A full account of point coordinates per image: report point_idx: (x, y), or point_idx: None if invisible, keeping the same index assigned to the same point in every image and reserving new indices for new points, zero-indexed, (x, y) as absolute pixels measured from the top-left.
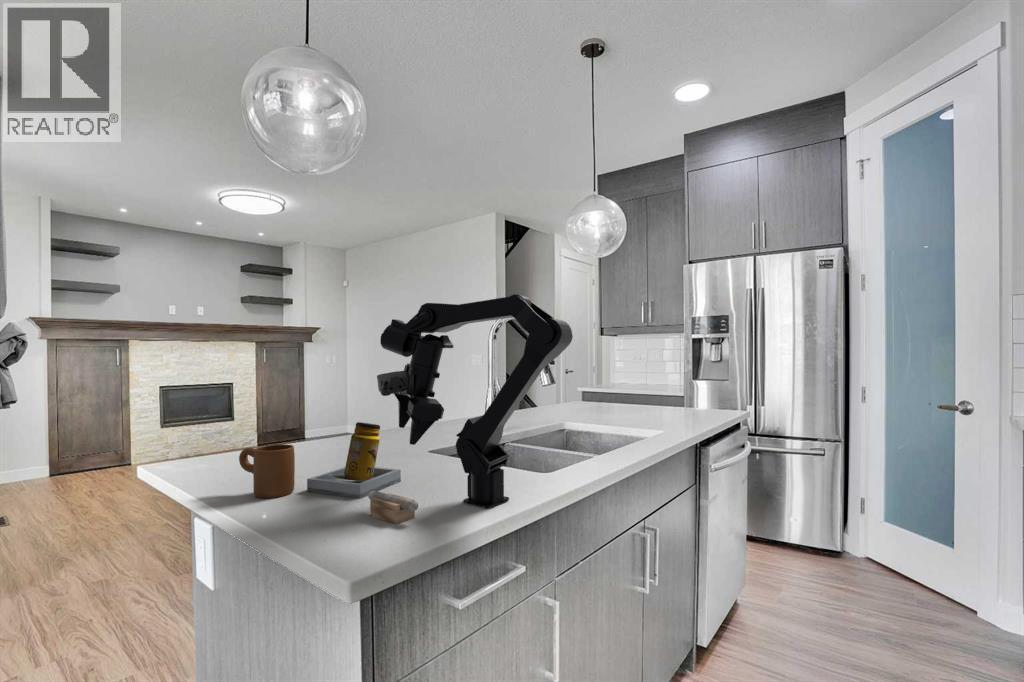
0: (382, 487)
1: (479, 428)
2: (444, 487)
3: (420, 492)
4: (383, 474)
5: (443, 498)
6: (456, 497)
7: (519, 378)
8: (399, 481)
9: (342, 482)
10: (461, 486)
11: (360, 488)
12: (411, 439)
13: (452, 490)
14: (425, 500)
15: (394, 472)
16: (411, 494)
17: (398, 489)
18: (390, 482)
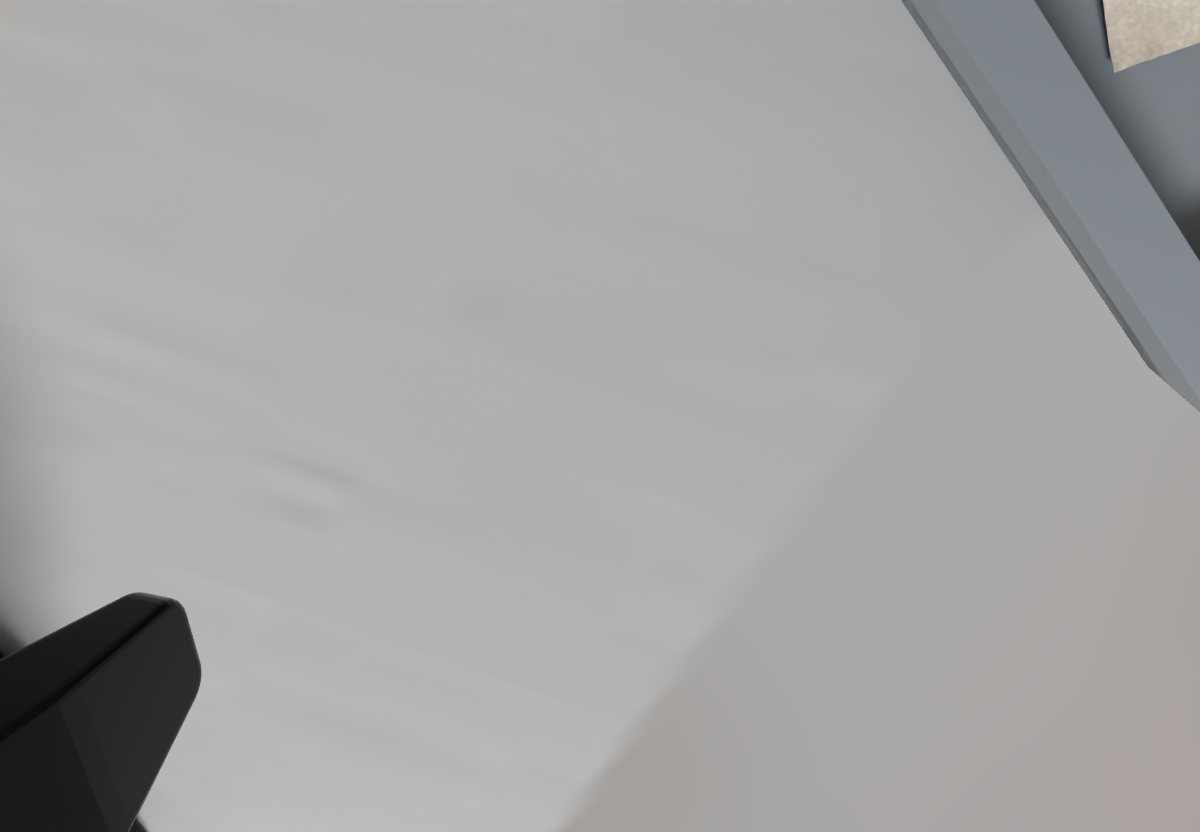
0: (945, 58)
1: None
2: (592, 677)
3: (535, 415)
4: (1103, 124)
5: (208, 537)
6: None
7: None
8: (1137, 348)
9: None
10: (540, 812)
11: None
12: (4, 667)
13: (444, 700)
14: (212, 365)
15: (1136, 309)
16: (507, 306)
17: (800, 236)
18: (1043, 204)
